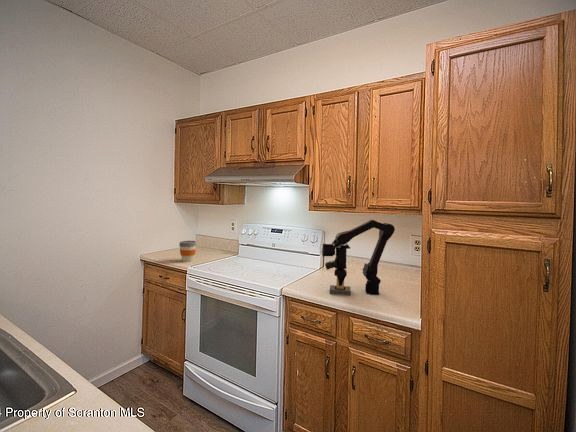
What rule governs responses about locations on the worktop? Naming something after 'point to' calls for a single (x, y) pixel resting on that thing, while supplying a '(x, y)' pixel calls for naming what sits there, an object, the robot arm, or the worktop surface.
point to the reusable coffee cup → (187, 250)
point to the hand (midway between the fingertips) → (340, 284)
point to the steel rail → (340, 290)
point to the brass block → (339, 286)
